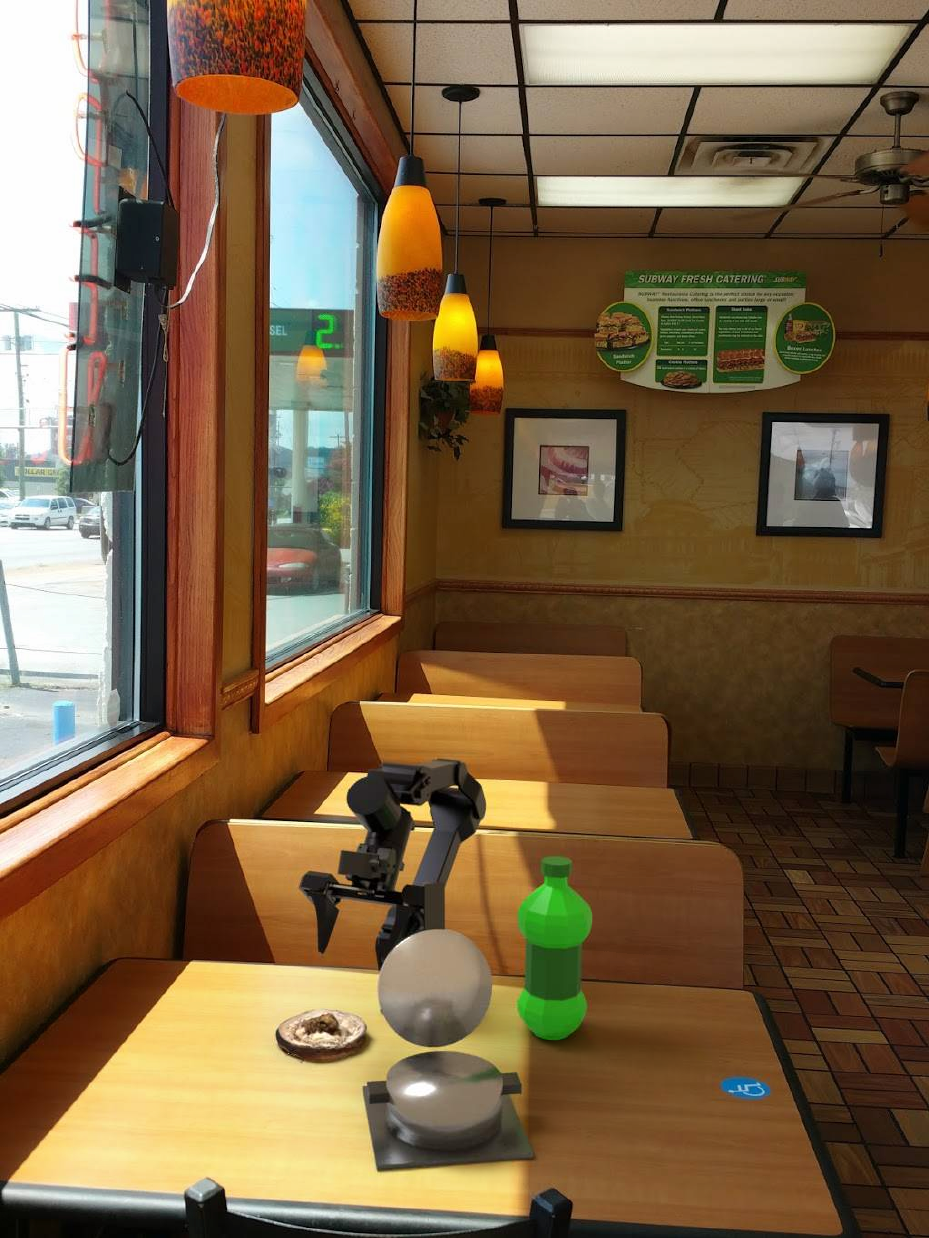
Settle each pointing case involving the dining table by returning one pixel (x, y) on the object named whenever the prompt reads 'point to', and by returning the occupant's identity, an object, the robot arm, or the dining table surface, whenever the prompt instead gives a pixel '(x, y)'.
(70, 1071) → the dining table surface
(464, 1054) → the cooker pot
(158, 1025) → the dining table surface
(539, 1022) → the plastic bottle
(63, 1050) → the dining table surface
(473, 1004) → the cooker lid
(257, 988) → the dining table surface
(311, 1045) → the bowl of rice
